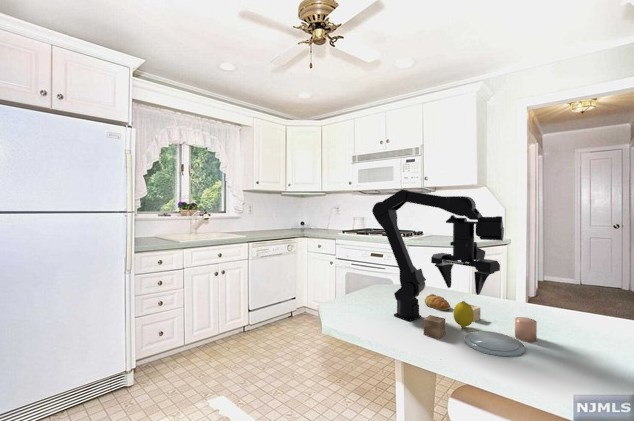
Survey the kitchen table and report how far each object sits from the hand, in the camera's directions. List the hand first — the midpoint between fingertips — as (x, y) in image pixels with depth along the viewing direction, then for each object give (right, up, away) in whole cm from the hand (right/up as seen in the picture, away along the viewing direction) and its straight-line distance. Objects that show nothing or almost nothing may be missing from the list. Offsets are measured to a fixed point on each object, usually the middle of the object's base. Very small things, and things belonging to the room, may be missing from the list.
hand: (463, 290), depth 97 cm
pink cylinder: (+14, -11, -8) cm, 19 cm away
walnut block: (-10, -11, -4) cm, 16 cm away
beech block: (+5, -11, +9) cm, 15 cm away
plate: (+3, -11, -11) cm, 16 cm away
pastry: (0, -11, +21) cm, 23 cm away
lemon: (0, -11, 0) cm, 11 cm away
